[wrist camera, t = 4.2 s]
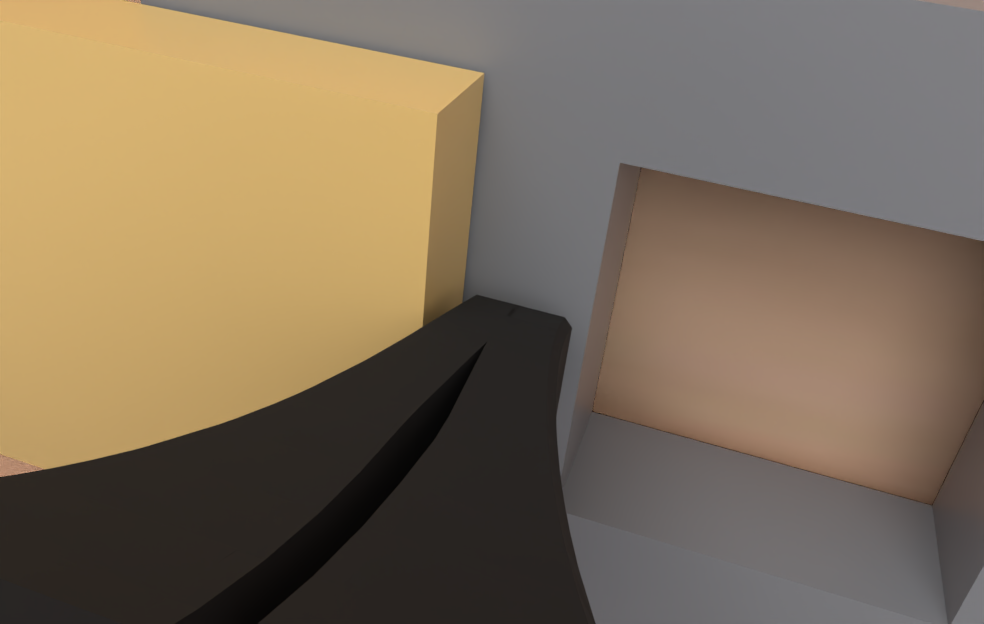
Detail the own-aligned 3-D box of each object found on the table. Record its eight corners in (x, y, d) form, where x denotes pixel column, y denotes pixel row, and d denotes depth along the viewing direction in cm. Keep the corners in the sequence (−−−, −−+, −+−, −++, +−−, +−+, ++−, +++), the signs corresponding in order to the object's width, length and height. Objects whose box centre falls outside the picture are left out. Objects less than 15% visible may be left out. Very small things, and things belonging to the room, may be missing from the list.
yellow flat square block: (441, 517, 14) (403, 588, 13) (57, 397, 16) (-10, 451, 14) (484, 73, 10) (437, 114, 9) (-28, -30, 12) (-128, -8, 11)
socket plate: (1232, 798, 15) (1294, 956, 13) (268, 490, 19) (201, 577, 17) (1892, 111, 9) (2212, 214, 7) (241, -147, 13) (127, -132, 11)
